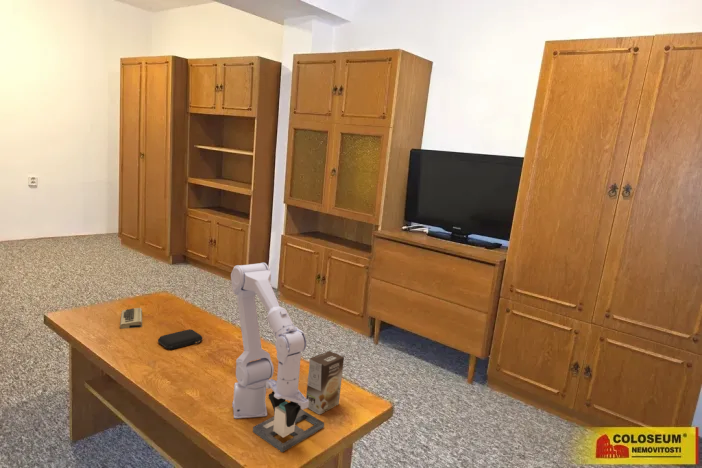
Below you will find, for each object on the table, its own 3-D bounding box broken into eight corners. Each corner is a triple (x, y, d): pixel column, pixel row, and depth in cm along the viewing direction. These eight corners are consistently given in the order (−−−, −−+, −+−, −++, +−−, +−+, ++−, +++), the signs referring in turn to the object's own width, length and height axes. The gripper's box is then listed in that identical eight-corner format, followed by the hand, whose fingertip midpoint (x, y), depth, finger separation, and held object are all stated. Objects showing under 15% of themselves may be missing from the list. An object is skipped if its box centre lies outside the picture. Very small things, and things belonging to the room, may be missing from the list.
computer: (121, 315, 198) (121, 307, 197) (142, 314, 201) (142, 306, 200) (119, 329, 184) (119, 321, 183) (142, 328, 187) (142, 320, 186)
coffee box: (319, 415, 139) (324, 366, 136) (304, 406, 143) (308, 358, 140) (339, 404, 146) (344, 357, 143) (324, 396, 150) (329, 349, 147)
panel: (282, 452, 121) (282, 446, 120) (252, 431, 128) (253, 426, 128) (323, 427, 133) (324, 422, 133) (294, 409, 140) (295, 404, 140)
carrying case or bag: (169, 353, 168) (206, 343, 179) (169, 345, 168) (206, 336, 178) (155, 343, 175) (191, 334, 186) (156, 335, 175) (192, 327, 185)
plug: (283, 437, 123) (285, 410, 122) (273, 430, 126) (275, 404, 124) (294, 431, 126) (296, 404, 125) (284, 424, 129) (286, 398, 127)
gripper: (258, 369, 124) (255, 415, 127) (296, 391, 115) (292, 440, 118) (278, 361, 129) (275, 405, 132) (316, 382, 121) (311, 428, 123)
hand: (284, 421), depth 125 cm, fingers closed on plug, 4 cm apart
